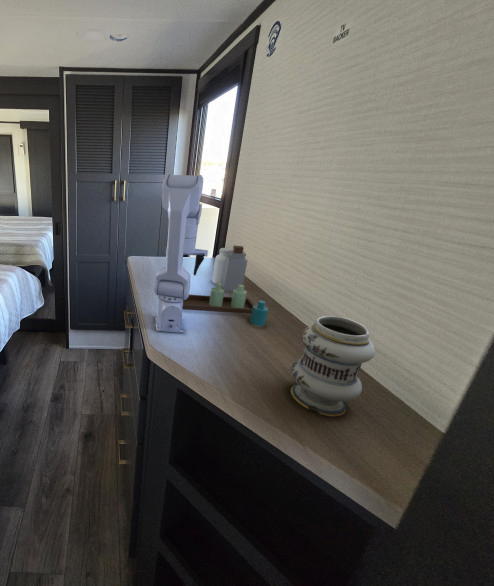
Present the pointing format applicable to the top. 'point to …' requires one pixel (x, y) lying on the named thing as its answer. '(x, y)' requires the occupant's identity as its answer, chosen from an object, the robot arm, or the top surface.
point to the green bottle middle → (216, 296)
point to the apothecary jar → (331, 364)
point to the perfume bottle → (234, 268)
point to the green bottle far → (238, 297)
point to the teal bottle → (259, 314)
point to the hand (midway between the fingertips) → (183, 273)
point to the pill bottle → (220, 265)
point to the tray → (203, 305)
